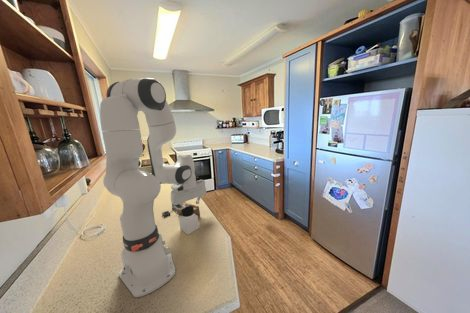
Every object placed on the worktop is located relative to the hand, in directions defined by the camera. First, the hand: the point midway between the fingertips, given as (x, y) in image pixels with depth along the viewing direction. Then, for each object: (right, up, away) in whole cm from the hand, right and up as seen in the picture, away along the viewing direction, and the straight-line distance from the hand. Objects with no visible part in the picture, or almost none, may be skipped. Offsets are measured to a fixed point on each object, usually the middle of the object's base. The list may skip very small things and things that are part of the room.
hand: (190, 206), depth 101 cm
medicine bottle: (+2, -9, -9) cm, 13 cm away
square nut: (-16, -7, +6) cm, 19 cm away
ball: (-6, -2, +8) cm, 10 cm away
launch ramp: (-2, -6, +5) cm, 8 cm away
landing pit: (-9, -5, +13) cm, 17 cm away
